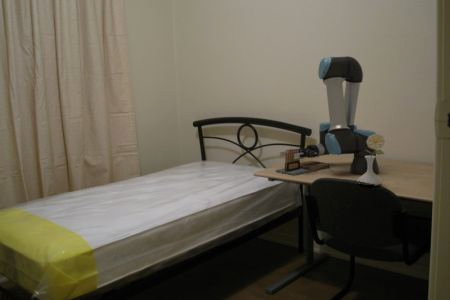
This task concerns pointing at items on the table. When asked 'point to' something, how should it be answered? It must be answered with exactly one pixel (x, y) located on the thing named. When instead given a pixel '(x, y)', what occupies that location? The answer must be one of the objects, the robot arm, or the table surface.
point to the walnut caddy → (314, 165)
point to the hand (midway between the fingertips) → (287, 155)
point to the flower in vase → (375, 143)
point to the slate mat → (295, 172)
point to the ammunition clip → (291, 161)
